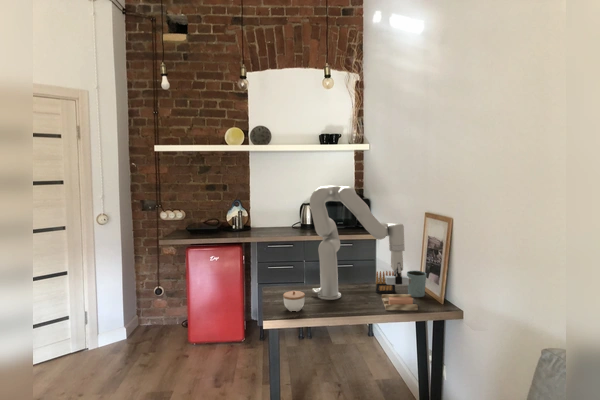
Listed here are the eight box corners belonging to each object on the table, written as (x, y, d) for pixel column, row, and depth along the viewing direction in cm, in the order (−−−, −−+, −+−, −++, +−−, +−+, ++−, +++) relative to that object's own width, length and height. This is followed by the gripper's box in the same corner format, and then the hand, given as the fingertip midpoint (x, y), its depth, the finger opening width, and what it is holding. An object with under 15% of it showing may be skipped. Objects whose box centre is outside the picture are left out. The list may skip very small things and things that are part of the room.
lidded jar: (307, 306, 190) (306, 288, 190) (302, 313, 180) (302, 294, 179) (286, 305, 193) (286, 287, 192) (281, 312, 182) (280, 293, 182)
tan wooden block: (389, 306, 183) (389, 299, 183) (388, 304, 187) (388, 297, 186) (415, 306, 182) (415, 299, 182) (413, 304, 185) (413, 297, 185)
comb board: (385, 310, 182) (385, 305, 181) (381, 299, 198) (381, 294, 197) (417, 310, 180) (417, 305, 180) (410, 299, 196) (410, 294, 196)
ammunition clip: (394, 291, 211) (394, 270, 210) (395, 292, 209) (395, 271, 208) (375, 291, 211) (375, 270, 210) (376, 292, 209) (375, 271, 208)
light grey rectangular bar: (386, 284, 191) (386, 277, 191) (385, 282, 195) (385, 275, 195) (411, 285, 190) (411, 278, 190) (409, 283, 194) (409, 276, 194)
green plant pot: (406, 291, 209) (405, 270, 208) (425, 292, 207) (425, 270, 206) (407, 297, 199) (407, 275, 198) (427, 298, 197) (427, 275, 196)
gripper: (387, 244, 200) (388, 278, 201) (391, 250, 184) (393, 287, 185) (401, 244, 199) (402, 278, 200) (407, 250, 183) (408, 287, 184)
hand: (398, 282), depth 193 cm, fingers closed on light grey rectangular bar, 3 cm apart
